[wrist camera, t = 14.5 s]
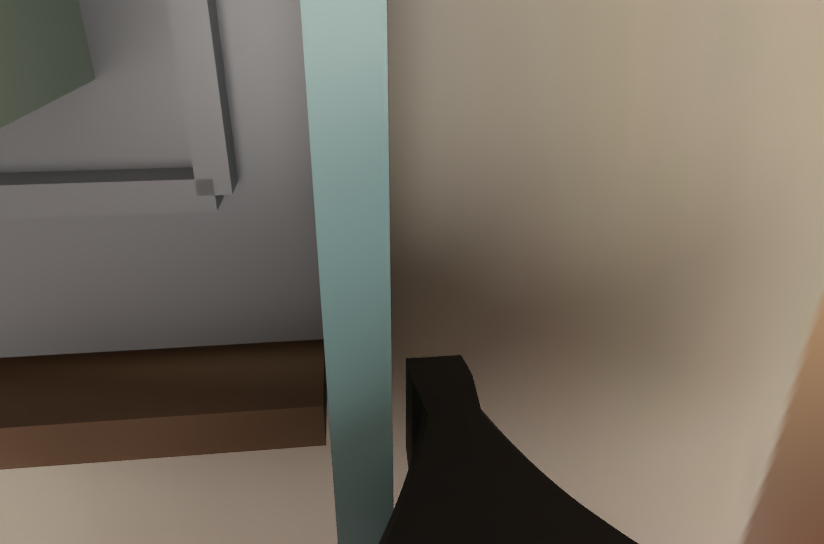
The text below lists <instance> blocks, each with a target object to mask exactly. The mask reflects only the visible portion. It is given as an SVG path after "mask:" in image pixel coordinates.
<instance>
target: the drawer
mask: <svg viewBox="0 0 824 544" xmlns="http://www.w3.org/2000/svg"><path fill="white" fill-rule="evenodd" d="M78 1H79V6H80V10H81V15H82V20H83V24H84V29H85V34H86V38H87V43H88V48H89V52H90V57H91V61H92V66H93V71H94V75H95V80H93V81H91V82H89V83H87V84H85V85H83V86H81V87H79V88H78V89H76V90H74V91H72V92H70V93H68V94H66V95H64V96H62V97H60V98H58V99H56V100H54V101H52V102H50V103H48V104H47V105H45V106H43V107H41V108H39V109H37V110H35V111H33V112H31V113H29V114H27V115H25V116H23V117H21V118H19V119H17V120H16V121H14V122H12V123H10V124H8V125H6V126H4V127H2V128H0V358H3V357H21V356H38V355H56V354H73V353H90V352H108V351H125V350H143V349H160V348H177V347H195V346H212V345H230V344H247V343H264V342H282V341H299V340H317V339H324V351H325V365H326V380H327V394H328V408H329V423H330V437H331V451H332V466H333V480H334V494H335V508H336V523H337V537H338V544H379V542H380V540H381V538H382V536H383V533H384V531H385V529H386V526H387V524H388V522H389V520H390V517H391V515H392V513H393V510H394V509H393V435H392V361H391V286H390V212H389V138H388V64H387V0H78Z"/></svg>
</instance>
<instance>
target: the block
mask: <svg viewBox="0 0 824 544" xmlns="http://www.w3.org/2000/svg"><path fill="white" fill-rule="evenodd" d="M93 80H95V75H94V71H93V66H92V61H91V57H90V52H89V48H88V43H87V38H86V34H85V29H84V24H83V20H82V15H81V10H80V6H79V1H78V0H0V128H2V127H4V126H6V125H8V124H10V123H12V122H14V121H16V120H17V119H19V118H21V117H23V116H25V115H27V114H29V113H31V112H33V111H35V110H37V109H39V108H41V107H43V106H45V105H47V104H48V103H50V102H52V101H54V100H56V99H58V98H60V97H62V96H64V95H66V94H68V93H70V92H72V91H74V90H76V89H78V88H79V87H81V86H83V85H85V84H87V83H89V82H91V81H93Z"/></svg>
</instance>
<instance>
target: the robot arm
mask: <svg viewBox="0 0 824 544" xmlns="http://www.w3.org/2000/svg"><path fill="white" fill-rule="evenodd" d="M406 451H407V460H408V473H407V476H406V479H405V482H404V484H403V487H402V490H401V493H400V495H399V498H398V500H397V503H396V506H395V508H394V510H393V513H392V515H391V517H390V520H389V522H388V524H387V526H386V529H385V531H384V533H383V536H382V538H381V540H380V542H379V544H638V543H637V542H635V541H633V540H632V539H630V538H629V537H627V536H626V535H624V534H623V533H621V532H620V531H618V530H617V529H615V528H614V527H612V526H611V525H610V524H608V523H607V522H605V521H604V520H602V519H601V518H600V517H598V516H597V515H595V514H594V513H592V512H591V511H590V510H588V509H587V508H585V507H584V506H583V505H581V504H580V503H579V502H577V501H576V500H575V499H573V498H572V497H571V496H569V495H568V494H567V493H566V492H565V491H563V490H562V489H561V488H560V487H559V486H558V485H556V484H555V483H554V482H553V481H552V480H550V479H549V478H548V477H547V476H546V475H545V474H544V473H542V472H541V471H540V470H539V469H538V468H537V467H536V466H535V465H534V464H533V463H532V462H531V461H529V460H528V459H527V458H526V457H525V456H524V455H523V454H522V453H521V452H520V451H519V450H518V449H517V448H516V447H515V446H514V445H513V444H512V443H511V442H510V441H509V440H508V439H507V438H506V436H505V435H504V434H503V433H502V432H501V431H500V430H499V429H498V428H497V427H496V426H495V424H494V423H493V422H492V421H491V420H490V419H489V418H488V417H487V415H486V414H485V413H484V412H483V411H482V410H481V408H480V404H479V400H478V396H477V392H476V388H475V384H474V380H473V376H472V374H471V372H470V370H469V368H468V366H467V364H466V363H465V361H464V360H463V358H462V356H461V355H455V356H439V357H422V358H406Z"/></svg>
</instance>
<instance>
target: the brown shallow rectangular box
mask: <svg viewBox="0 0 824 544" xmlns="http://www.w3.org/2000/svg"><path fill="white" fill-rule="evenodd" d="M326 412H327V380H326V365H325V351H324V339H317V340H299V341H282V342H264V343H247V344H230V345H212V346H195V347H177V348H160V349H143V350H125V351H108V352H90V353H73V354H56V355H38V356H21V357H3V358H0V469H14V468H27V467H41V466H54V465H67V464H81V463H94V462H108V461H121V460H134V459H148V458H161V457H175V456H188V455H202V454H215V453H228V452H242V451H255V450H269V449H282V448H296V447H309V446H322V445H326Z"/></svg>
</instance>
